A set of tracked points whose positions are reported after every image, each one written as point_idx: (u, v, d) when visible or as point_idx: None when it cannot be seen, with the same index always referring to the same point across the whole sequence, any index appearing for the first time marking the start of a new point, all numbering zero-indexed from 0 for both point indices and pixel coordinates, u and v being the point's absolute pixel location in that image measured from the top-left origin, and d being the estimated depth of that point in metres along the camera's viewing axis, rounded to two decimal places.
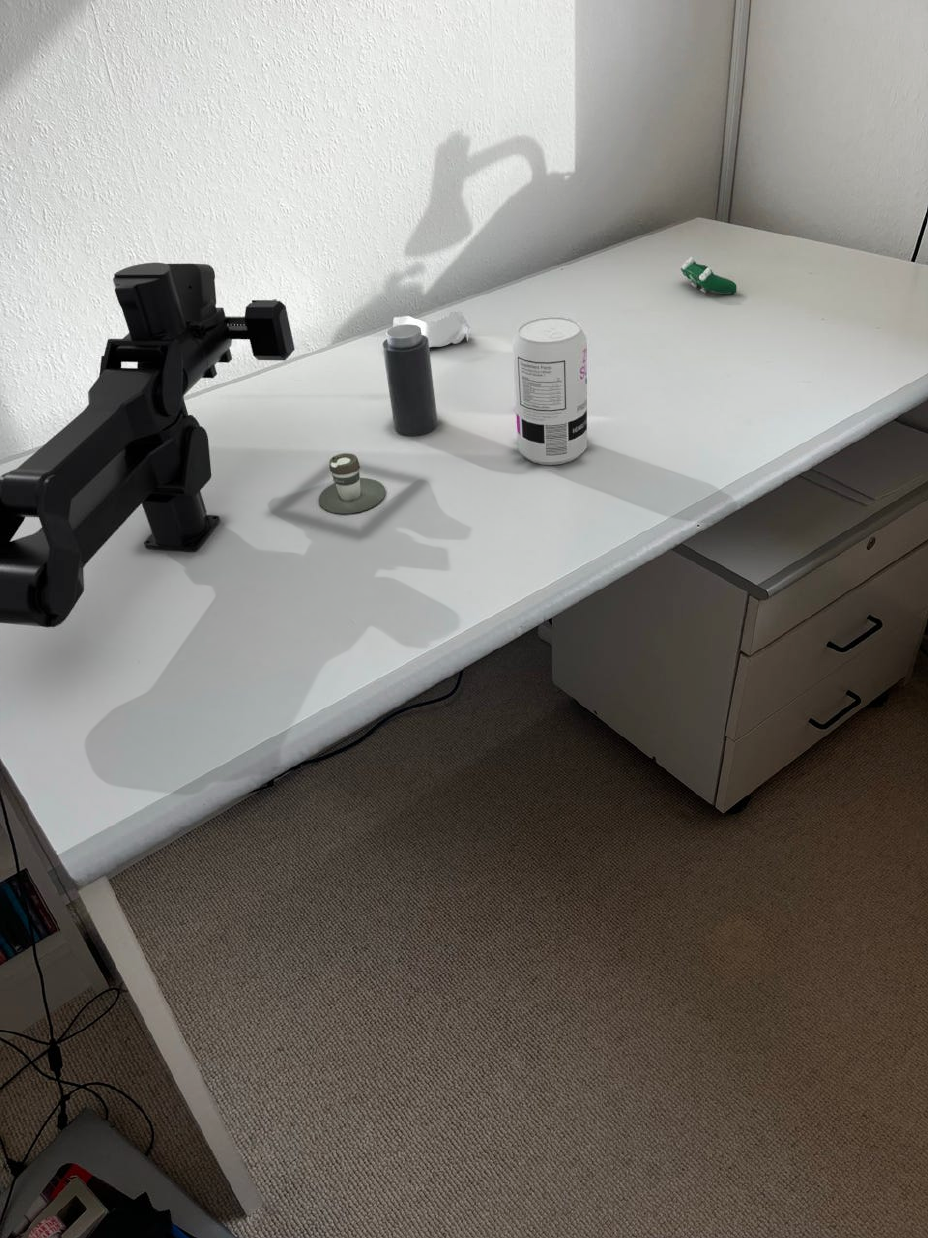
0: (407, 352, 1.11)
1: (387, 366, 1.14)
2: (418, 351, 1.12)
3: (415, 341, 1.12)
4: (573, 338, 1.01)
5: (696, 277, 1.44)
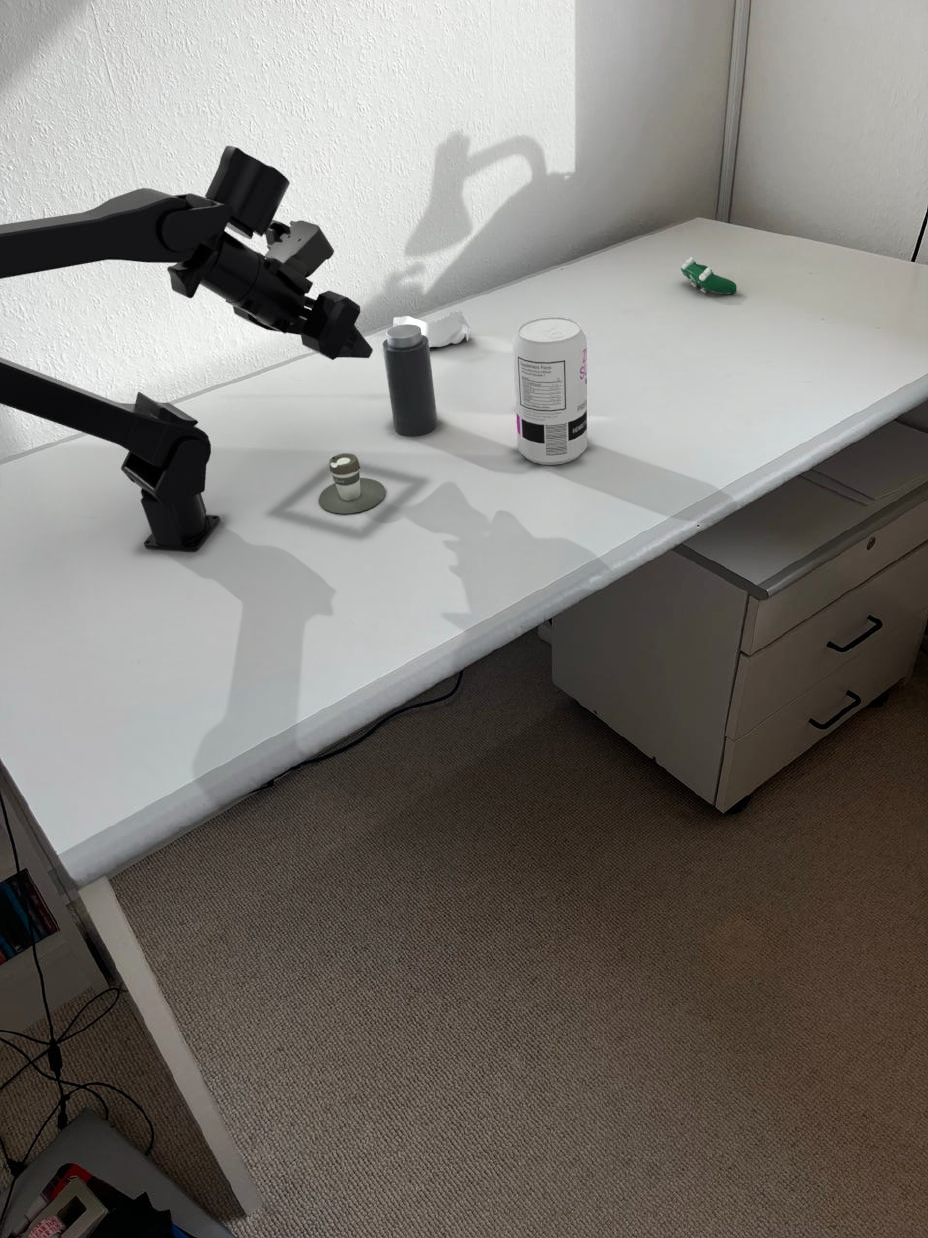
0: (407, 352, 1.11)
1: (387, 366, 1.14)
2: (418, 351, 1.12)
3: (415, 341, 1.12)
4: (573, 338, 1.01)
5: (696, 277, 1.44)
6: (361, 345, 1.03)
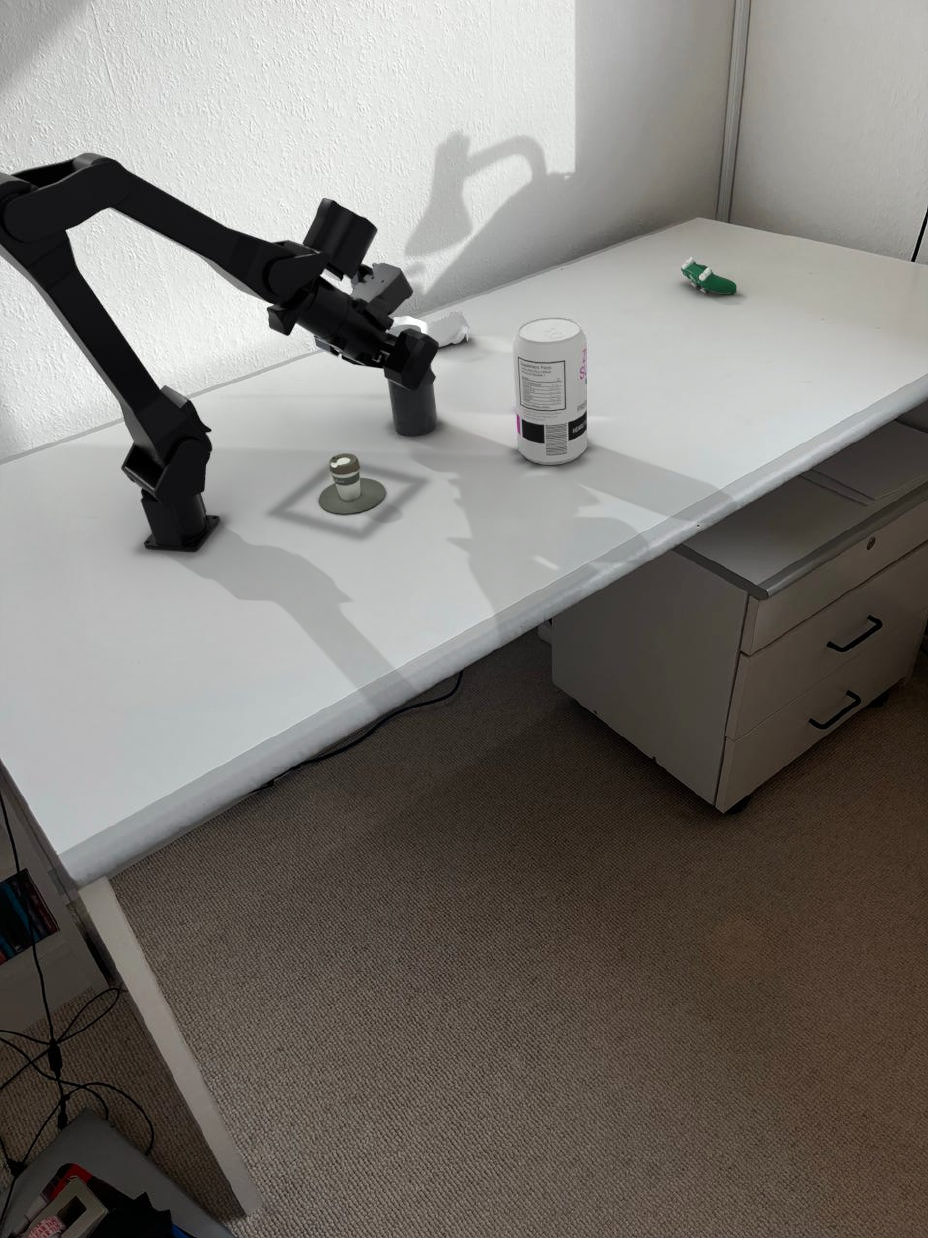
0: None
1: None
2: None
3: None
4: (573, 338, 1.01)
5: (696, 277, 1.44)
6: (426, 373, 1.13)
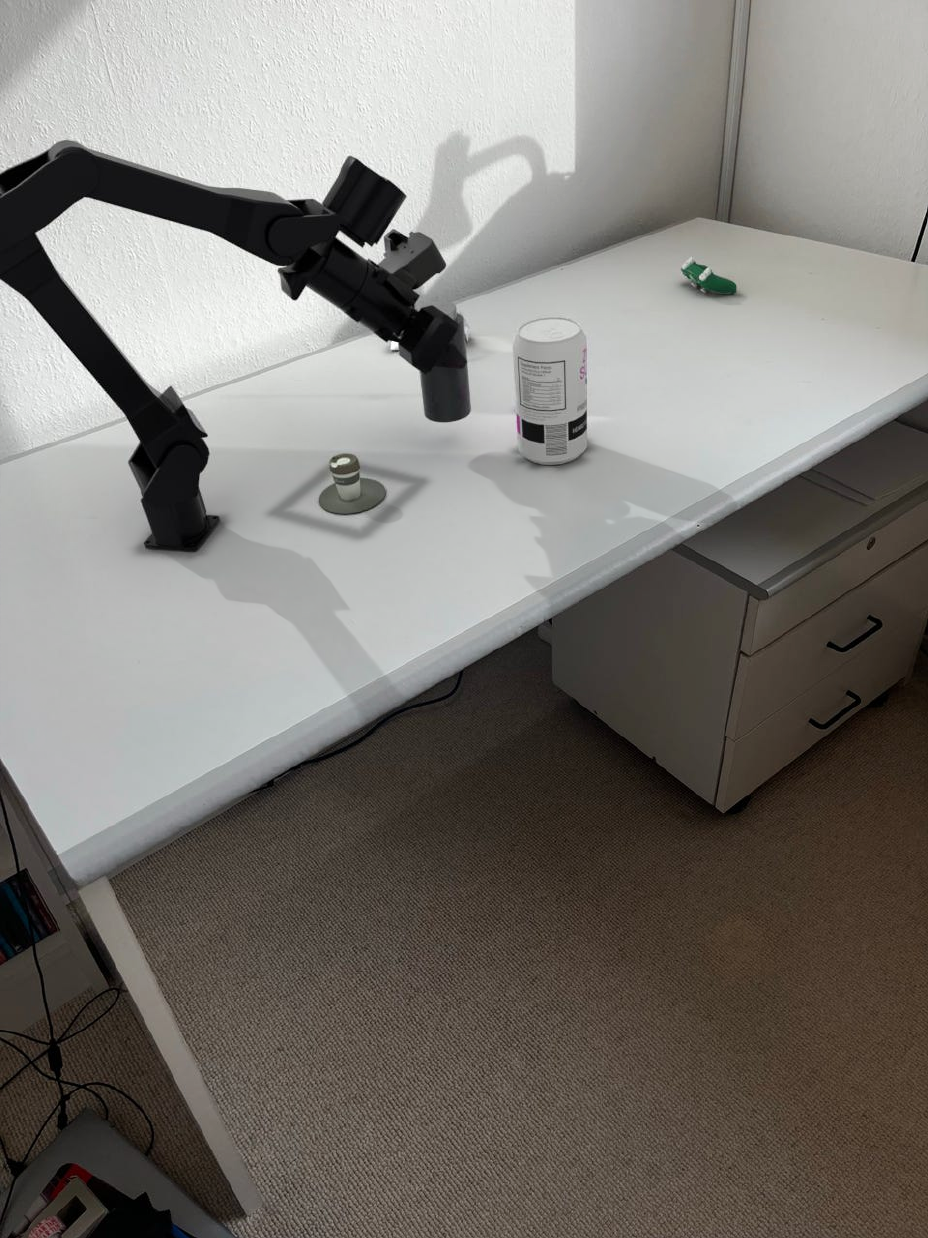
0: None
1: None
2: None
3: None
4: (573, 338, 1.01)
5: (696, 277, 1.44)
6: (454, 356, 1.04)
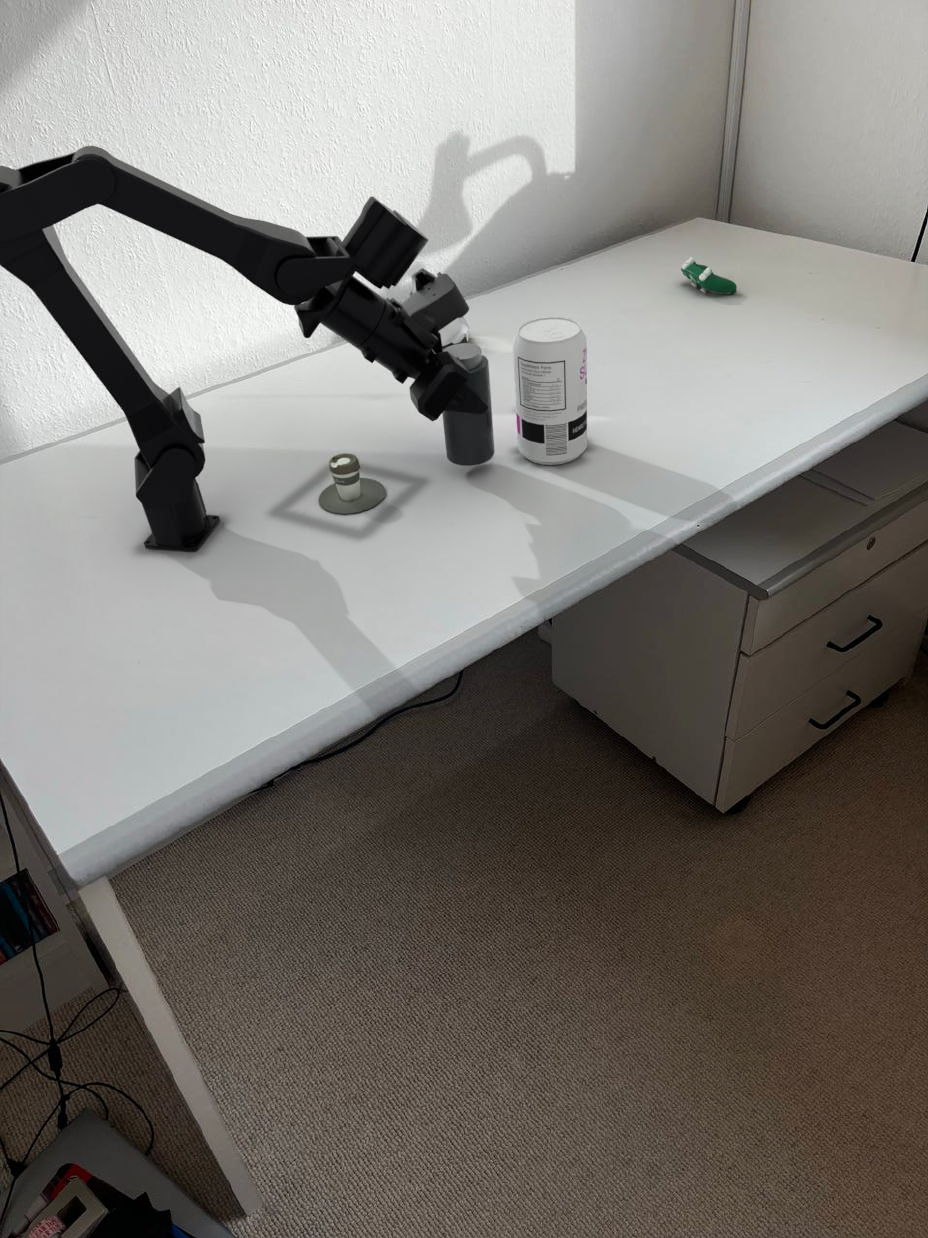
0: None
1: None
2: None
3: (468, 364, 1.00)
4: (573, 338, 1.01)
5: (696, 277, 1.44)
6: (473, 401, 1.01)
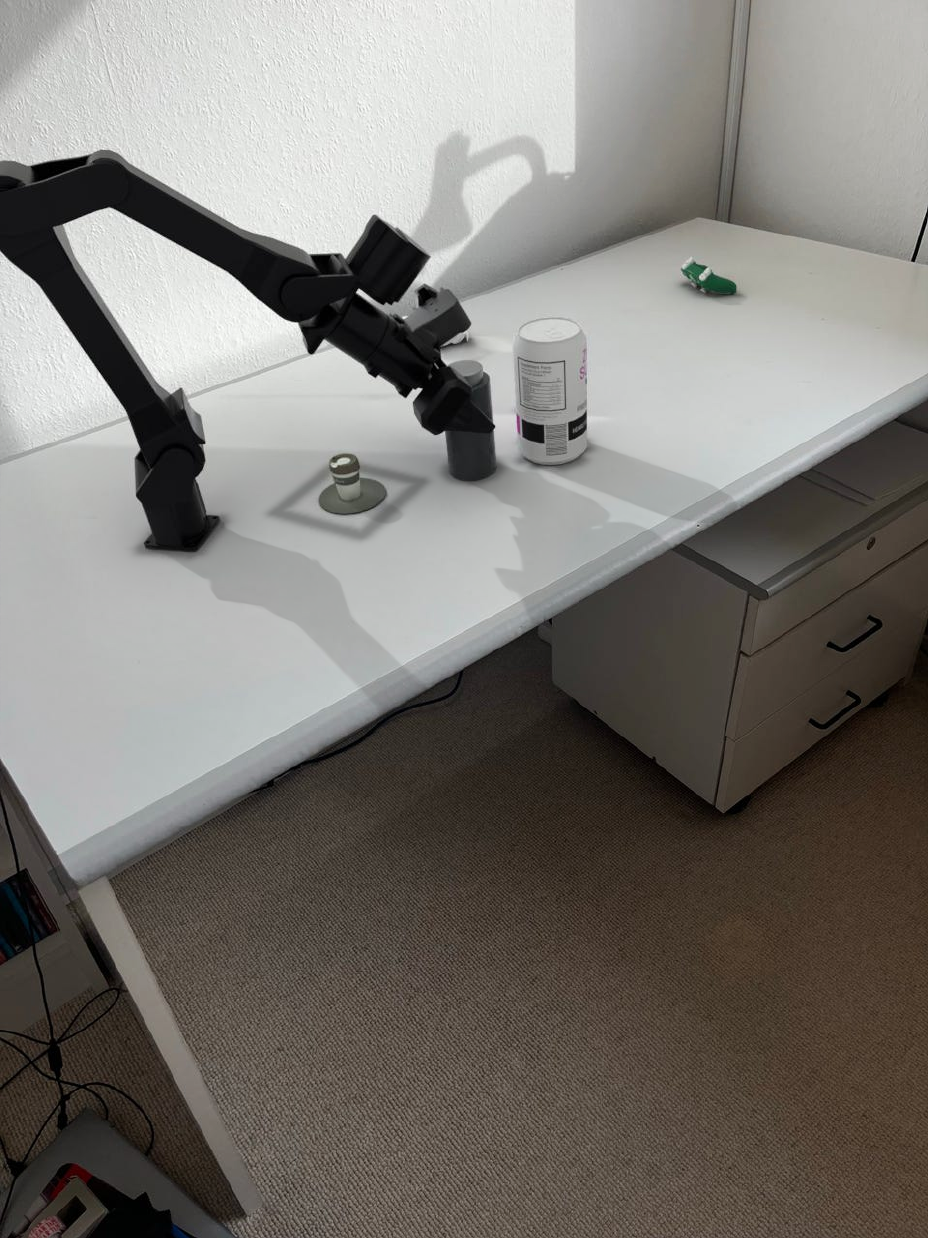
0: None
1: None
2: None
3: (469, 382, 1.02)
4: (573, 338, 1.01)
5: (696, 277, 1.44)
6: (480, 421, 1.01)
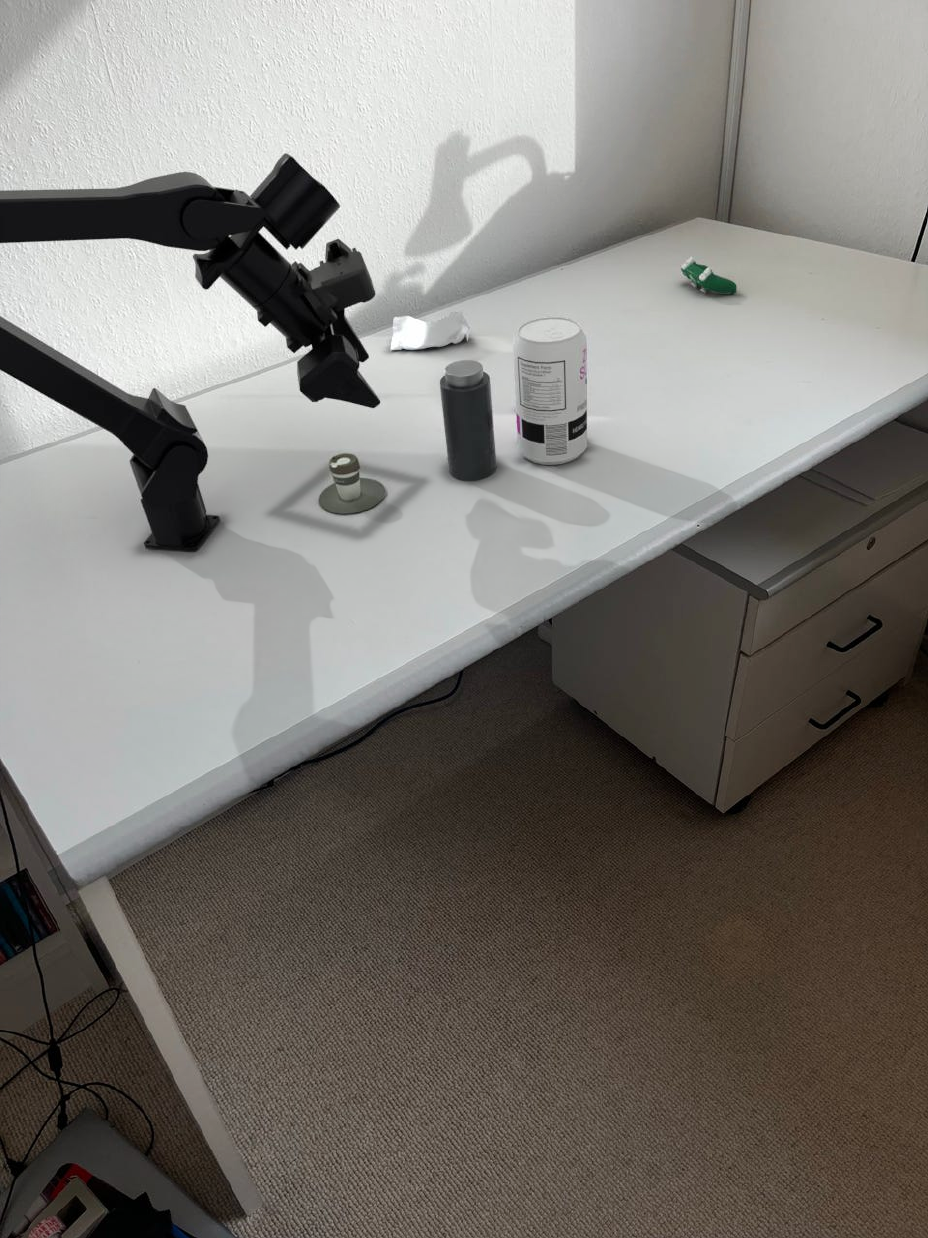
0: (458, 392, 1.02)
1: None
2: (470, 393, 1.02)
3: (469, 382, 1.02)
4: (573, 338, 1.01)
5: (696, 277, 1.44)
6: (365, 395, 0.99)
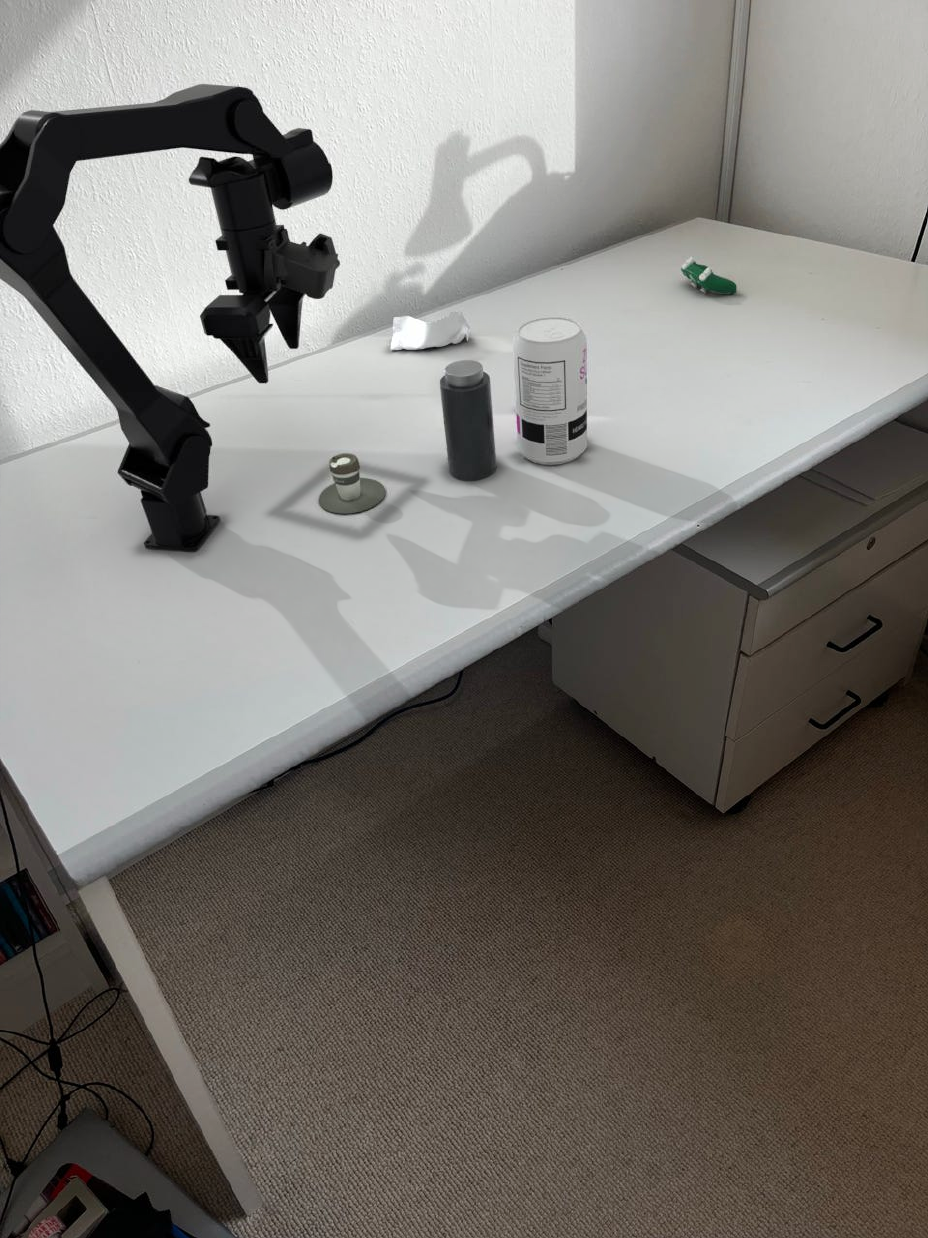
0: (458, 392, 1.02)
1: None
2: (470, 393, 1.02)
3: (469, 382, 1.02)
4: (573, 338, 1.01)
5: (696, 277, 1.44)
6: (256, 366, 1.01)
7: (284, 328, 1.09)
